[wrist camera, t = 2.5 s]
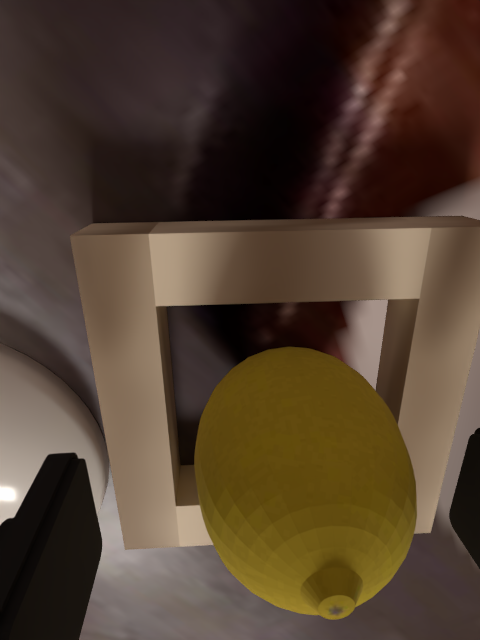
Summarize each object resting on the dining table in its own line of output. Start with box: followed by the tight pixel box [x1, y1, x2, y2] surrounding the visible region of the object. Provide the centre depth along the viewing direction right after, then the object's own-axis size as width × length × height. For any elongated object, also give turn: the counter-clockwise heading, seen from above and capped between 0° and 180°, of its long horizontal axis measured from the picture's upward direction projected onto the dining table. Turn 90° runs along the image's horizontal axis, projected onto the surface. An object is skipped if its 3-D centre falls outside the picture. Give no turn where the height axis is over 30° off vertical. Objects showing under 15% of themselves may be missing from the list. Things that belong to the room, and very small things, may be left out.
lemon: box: [194, 347, 417, 619], centre depth 11 cm, size 6×6×8 cm
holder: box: [70, 216, 480, 550], centre depth 14 cm, size 12×12×2 cm
